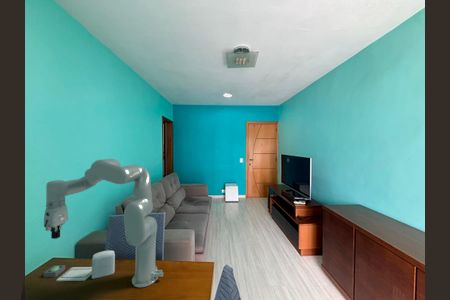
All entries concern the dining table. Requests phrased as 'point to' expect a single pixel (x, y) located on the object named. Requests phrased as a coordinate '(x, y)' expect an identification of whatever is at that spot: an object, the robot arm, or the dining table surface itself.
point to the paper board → (76, 274)
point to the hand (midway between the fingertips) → (55, 237)
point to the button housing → (54, 274)
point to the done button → (54, 269)
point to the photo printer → (103, 264)
